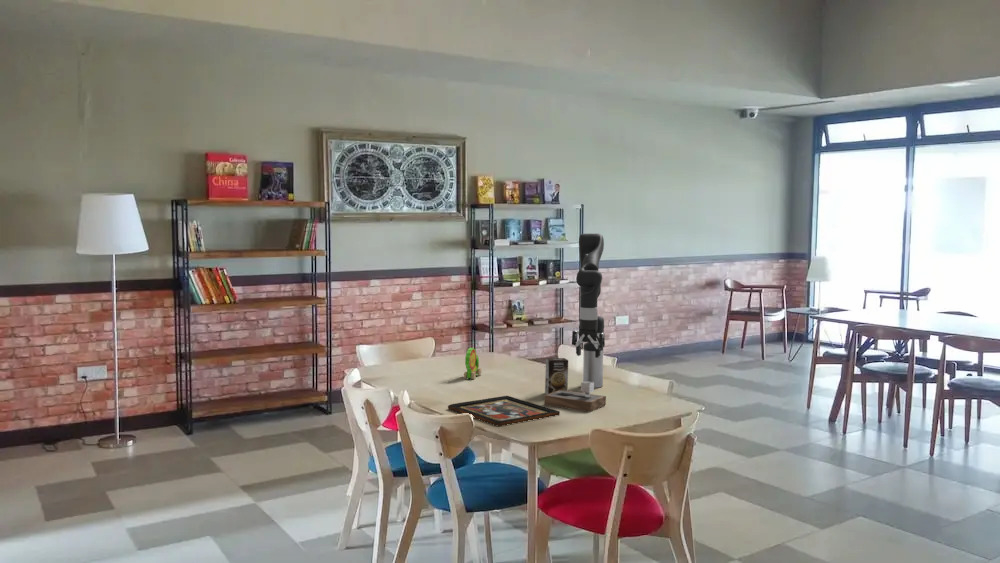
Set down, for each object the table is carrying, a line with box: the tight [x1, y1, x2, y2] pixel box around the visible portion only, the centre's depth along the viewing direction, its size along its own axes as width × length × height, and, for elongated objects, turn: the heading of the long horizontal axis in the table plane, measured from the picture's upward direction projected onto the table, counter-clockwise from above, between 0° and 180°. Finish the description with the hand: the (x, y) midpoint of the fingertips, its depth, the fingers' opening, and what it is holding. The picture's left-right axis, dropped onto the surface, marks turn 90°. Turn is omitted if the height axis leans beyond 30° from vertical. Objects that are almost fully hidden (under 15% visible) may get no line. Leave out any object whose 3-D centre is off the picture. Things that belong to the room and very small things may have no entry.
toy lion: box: [463, 347, 482, 380], centre depth 401 cm, size 16×5×15 cm, turn 164°
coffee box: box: [544, 357, 569, 395], centre depth 365 cm, size 9×6×16 cm
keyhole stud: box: [580, 381, 595, 399], centre depth 341 cm, size 4×4×10 cm
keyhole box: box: [543, 390, 607, 413], centre depth 344 cm, size 14×22×4 cm, turn 56°
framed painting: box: [447, 395, 561, 427], centre depth 331 cm, size 38×35×3 cm
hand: (587, 356), depth 339 cm, fingers open, 8 cm apart
